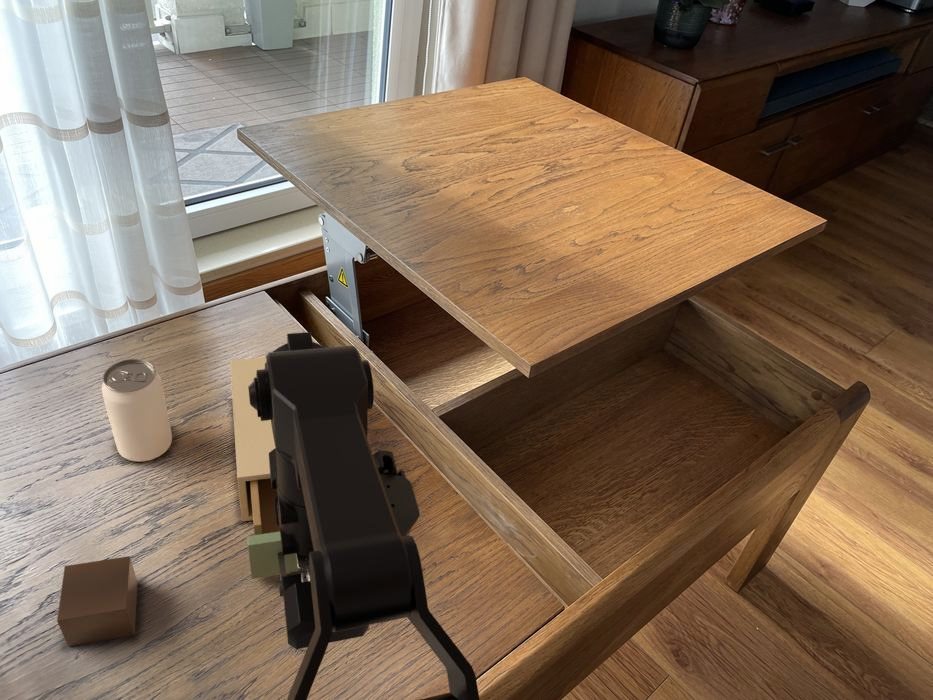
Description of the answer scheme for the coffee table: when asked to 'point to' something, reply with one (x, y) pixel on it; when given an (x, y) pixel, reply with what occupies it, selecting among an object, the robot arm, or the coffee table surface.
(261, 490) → the drawer
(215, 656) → the coffee table surface
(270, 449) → the cabinet
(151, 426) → the can
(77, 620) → the brown cube
